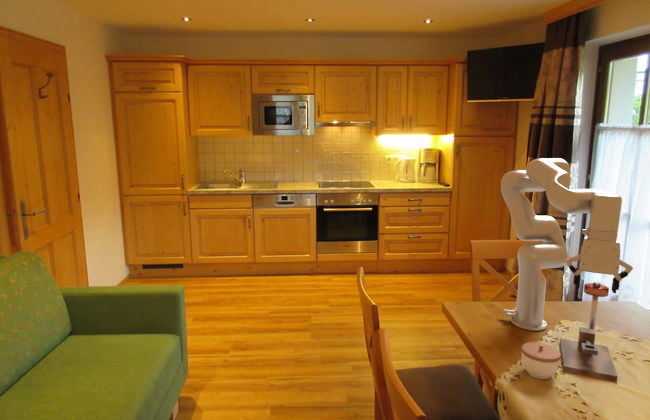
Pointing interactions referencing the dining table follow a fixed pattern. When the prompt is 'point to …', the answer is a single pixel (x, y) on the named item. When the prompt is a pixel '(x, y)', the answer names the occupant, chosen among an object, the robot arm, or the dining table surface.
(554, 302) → the dining table surface
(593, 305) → the orange knobbed disc
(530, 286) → the robot arm
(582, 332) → the eye stand
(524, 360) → the lidded jar
